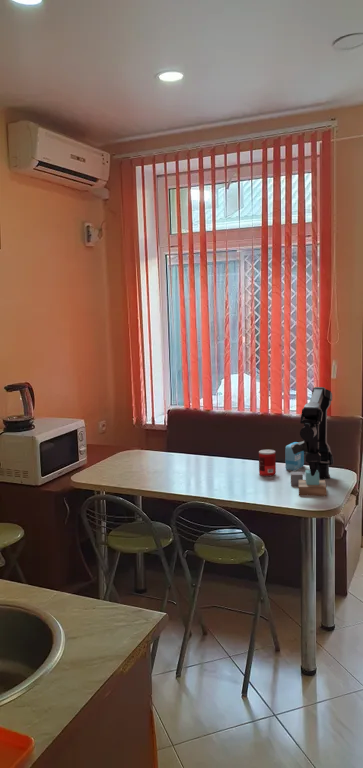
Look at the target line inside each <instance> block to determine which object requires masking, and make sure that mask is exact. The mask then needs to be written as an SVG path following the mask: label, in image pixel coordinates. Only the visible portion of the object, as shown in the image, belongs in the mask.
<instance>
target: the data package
mask: <svg viewBox="0 0 363 768" xmlns="http://www.w3.org/2000/svg"><path fill="white" fill-rule="evenodd" d="M299 442H300V441H299ZM299 442H297V441H294V442H291V443H289V444H287V445H285V451H284V452H285V454H284V455H285V459H284V460H285V470H286V471H291V472H297V470H300V469H301V468H303V467H304V465H305V454H304V451H301V452H298V453H297V454H294V453H293V451H292V448H291V445H293V444H296V443H299Z"/></svg>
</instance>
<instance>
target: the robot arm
mask: <svg viewBox="0 0 363 768" xmlns="http://www.w3.org/2000/svg"><path fill="white" fill-rule="evenodd" d="M332 401H333V392H332V391H331V390H329V389H326V387H325V386H324V387H323V386H315V387H313V389H312V390H311V397H310V400H309V402H307V403H306V404H304V406H303V408H302V409H301V415H300V424H303V427H302V428H301V429H300V431H299V437H300V438H301V439H302V440H303V441H299V443H296V444H293V445H291V448H292V451H293V453H294V454H297V453H298V452H301V451H304V462H306V463H307V464H308V467H309V470H310V472H311V476H314V475H315V472H316V470H318V472H319V479H331V476H330V466H332V465H334V456H333V453H332V451H331V446H330V445H329V444H328V410H329V408H330V406H331V405H332Z"/></svg>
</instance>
